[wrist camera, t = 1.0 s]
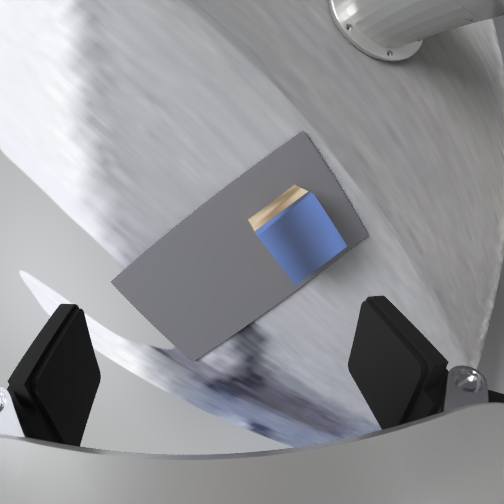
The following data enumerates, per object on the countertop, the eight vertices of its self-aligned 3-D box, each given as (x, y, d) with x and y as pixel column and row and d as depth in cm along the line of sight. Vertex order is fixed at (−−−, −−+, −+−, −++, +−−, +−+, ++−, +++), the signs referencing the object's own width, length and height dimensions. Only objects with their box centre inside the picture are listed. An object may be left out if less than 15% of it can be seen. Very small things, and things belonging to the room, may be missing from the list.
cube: (294, 184, 32) (313, 194, 26) (324, 229, 34) (347, 246, 29) (247, 219, 33) (257, 236, 27) (280, 262, 35) (295, 285, 29)
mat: (302, 131, 31) (303, 131, 30) (366, 234, 36) (368, 235, 35) (112, 280, 33) (110, 282, 33) (192, 359, 38) (192, 361, 37)
